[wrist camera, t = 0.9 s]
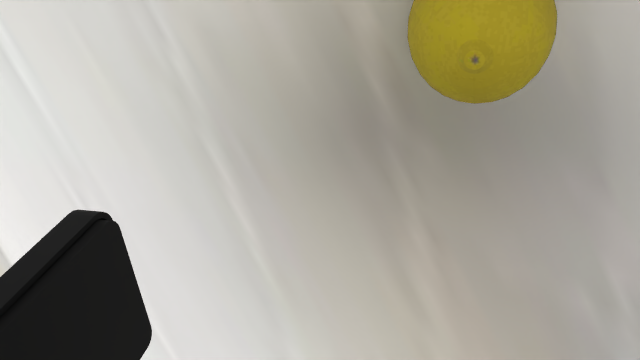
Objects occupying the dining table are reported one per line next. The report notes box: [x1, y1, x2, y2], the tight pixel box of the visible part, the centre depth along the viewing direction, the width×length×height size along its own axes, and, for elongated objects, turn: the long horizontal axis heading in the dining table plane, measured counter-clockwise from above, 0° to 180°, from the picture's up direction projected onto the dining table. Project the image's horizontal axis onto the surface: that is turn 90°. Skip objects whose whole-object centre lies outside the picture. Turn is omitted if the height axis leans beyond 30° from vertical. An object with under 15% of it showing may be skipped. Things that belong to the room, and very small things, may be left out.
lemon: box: [408, 0, 557, 104], centre depth 23 cm, size 6×6×8 cm
